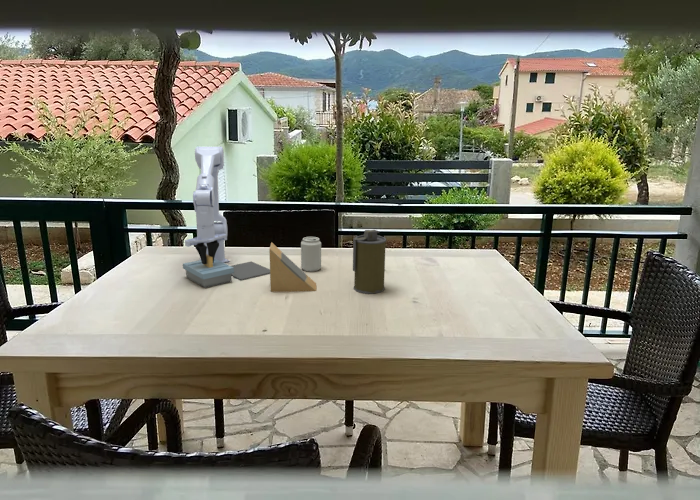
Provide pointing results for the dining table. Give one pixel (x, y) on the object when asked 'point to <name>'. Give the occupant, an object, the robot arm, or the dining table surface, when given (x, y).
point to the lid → (208, 268)
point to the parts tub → (209, 279)
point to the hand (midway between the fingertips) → (207, 263)
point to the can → (311, 254)
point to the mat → (249, 270)
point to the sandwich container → (287, 274)
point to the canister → (369, 262)
